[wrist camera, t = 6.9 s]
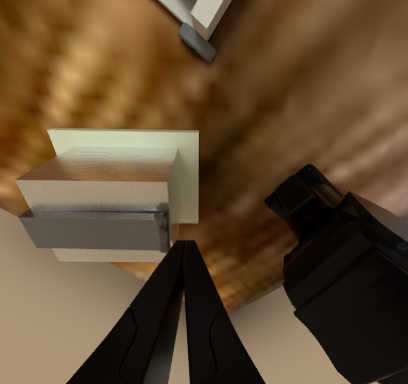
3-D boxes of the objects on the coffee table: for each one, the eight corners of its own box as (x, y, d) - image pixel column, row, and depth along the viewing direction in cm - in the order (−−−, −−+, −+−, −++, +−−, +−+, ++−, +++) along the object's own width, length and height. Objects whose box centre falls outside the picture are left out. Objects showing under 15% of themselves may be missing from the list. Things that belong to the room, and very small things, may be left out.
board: (198, 130, 19) (198, 132, 18) (198, 219, 25) (198, 223, 24) (52, 127, 19) (47, 130, 18) (86, 217, 24) (83, 222, 24)
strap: (168, 210, 14) (166, 218, 13) (171, 244, 16) (169, 253, 15) (26, 207, 14) (16, 215, 13) (45, 241, 16) (37, 250, 15)
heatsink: (178, 147, 19) (166, 182, 13) (181, 213, 23) (174, 262, 17) (65, 145, 19) (2, 179, 13) (89, 212, 23) (49, 261, 17)
